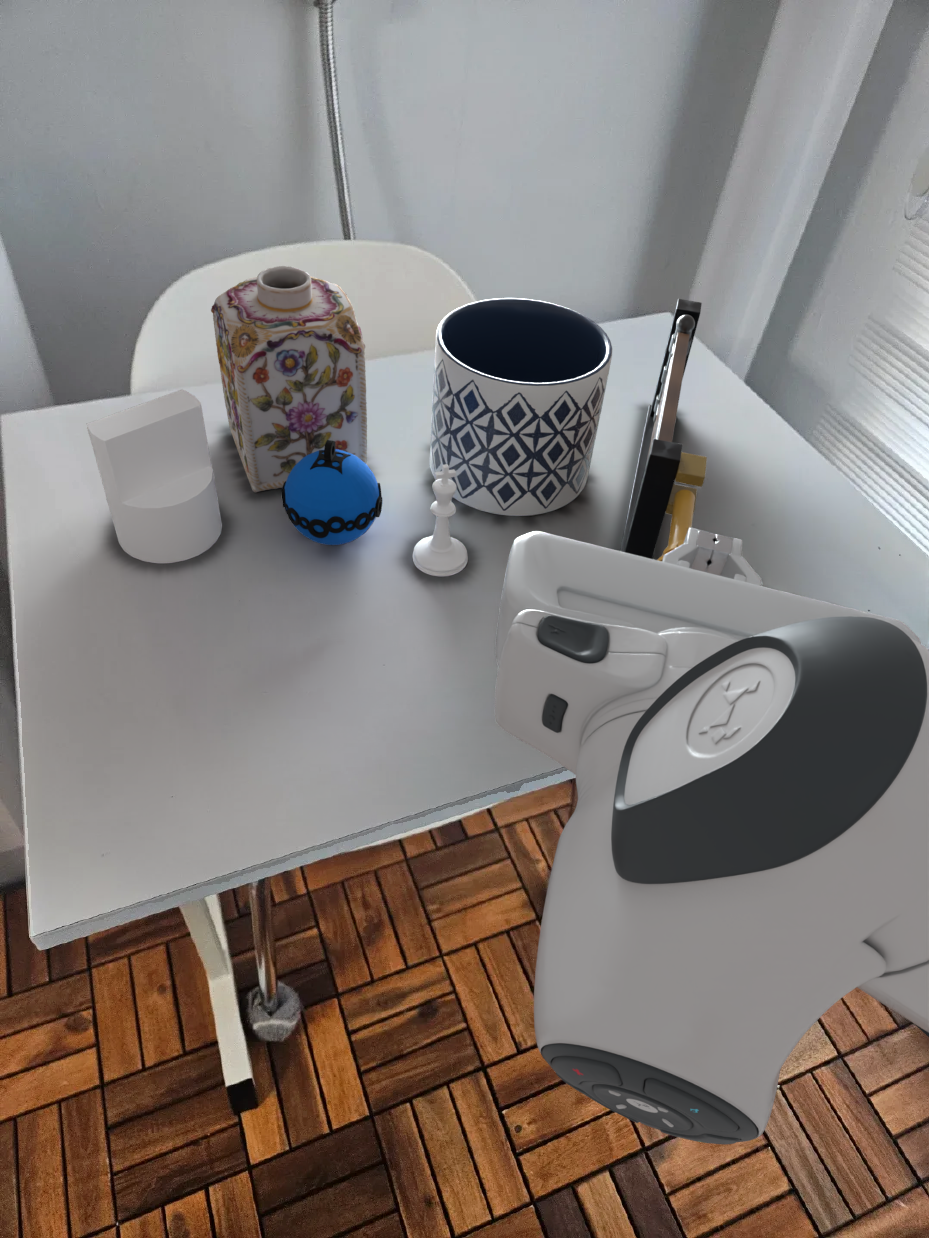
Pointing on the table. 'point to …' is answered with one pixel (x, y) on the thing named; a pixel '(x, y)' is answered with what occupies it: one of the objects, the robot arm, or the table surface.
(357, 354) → the decorative jar
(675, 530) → the bolt
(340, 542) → the ornament
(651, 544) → the gate frame
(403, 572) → the table surface
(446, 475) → the chess piece
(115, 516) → the cylinder with rectangular tab
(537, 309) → the planter
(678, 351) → the gate
